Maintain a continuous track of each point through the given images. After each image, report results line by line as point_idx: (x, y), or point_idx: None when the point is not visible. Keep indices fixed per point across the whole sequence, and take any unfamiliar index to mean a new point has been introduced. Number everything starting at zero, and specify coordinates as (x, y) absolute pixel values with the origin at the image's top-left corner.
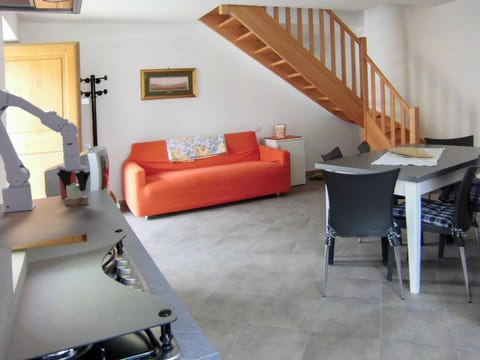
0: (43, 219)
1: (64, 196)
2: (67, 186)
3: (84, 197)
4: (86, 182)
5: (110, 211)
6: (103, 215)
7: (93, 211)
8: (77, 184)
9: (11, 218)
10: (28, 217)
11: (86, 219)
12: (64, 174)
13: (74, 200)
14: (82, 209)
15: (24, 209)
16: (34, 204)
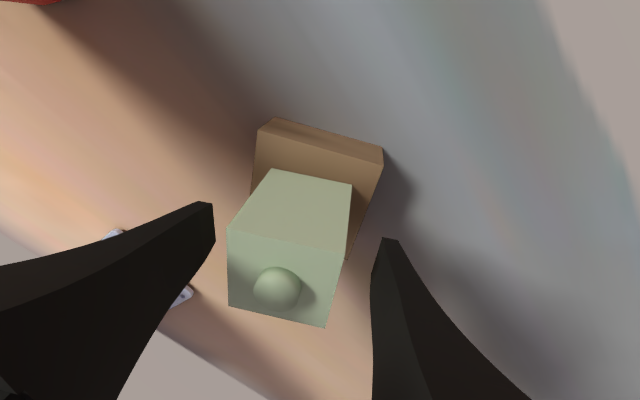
0: (356, 382)
1: (43, 4)
2: (249, 306)
3: (368, 188)
4: (430, 298)
5: (632, 308)
6: (604, 360)
7: (517, 307)
8: (288, 252)
9: (236, 368)
10: (281, 363)
11: (535, 395)
12: (92, 386)
13: (344, 256)
14: (429, 276)
15: (174, 306)
16: (114, 233)
